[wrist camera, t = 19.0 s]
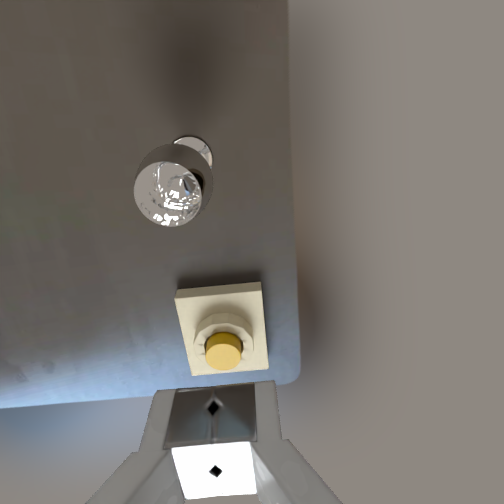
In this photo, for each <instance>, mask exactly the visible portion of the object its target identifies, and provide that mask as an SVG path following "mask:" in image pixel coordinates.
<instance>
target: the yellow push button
mask: <svg viewBox="0 0 504 504" xmlns="http://www.w3.org/2000/svg"><path fill="white" fill-rule="evenodd" d="M205 358H206V361H207V363H208V364H209V365H210V366H211V367H212V368H214V369H217V370H230V369H233V368H234V367H236V366H237V365H238V364H239V362H240V360H241V342H240V340H239V338H238V337H237V336H236V335H234V334H232V333H229V332H218V333H215V334H213V335H212V336H211V337H210V338H209V339H208V341H207V347H206V354H205Z"/></svg>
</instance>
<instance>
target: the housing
mask: <svg viewBox="0 0 504 504" xmlns="http://www.w3.org/2000/svg"><path fill="white" fill-rule="evenodd" d="M175 303H176V308H177V312H178V316H179V321H180V325H181V330H182V334H183V339H184V343H185V347H186V352H187V356H188V361H189V365H190V369H191V374H192V376H195V375H206V374H217V373H228V372H239V371H250V370H261V369H269V364H268V353H267V343H266V332H265V321H264V310H263V299H262V289H261V282H252V283H241V284H230V285H220V286H209V287H199V288H188V289H178V290H177V292H176V295H175ZM218 332H229V333H232V334H234V335H236V336H237V337H238V338H239V340H240V342H241V360H240V362H239V364H238V365H237V366H236V367H234V368H233V369H230V370H217V369H214V368H212V367H211V366H210V365H209V364H208V363H207V361H206V358H205V354H206V347H207V341H208V339H209V338H210V337H211V336H212V335H213V334H215V333H218Z"/></svg>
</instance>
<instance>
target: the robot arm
mask: <svg viewBox="0 0 504 504" xmlns="http://www.w3.org/2000/svg"><path fill="white" fill-rule="evenodd" d="M240 494H257V496H258V498H259V500H260V501H261V503H262V504H343V503H342V502H341V501H340V500H339V499H338V497H337V496H336V495H335V494H334V493H333V491H332V490H331V489H330V488H329V487H328V485H327V484H326V483H325V482H324V481H323V480H322V478H321V477H320V476H319V475H318V474H317V472H316V471H315V470H314V469H313V468H312V467H311V466H310V464H309V463H308V462H307V461H306V460H305V459H304V457H303V456H302V455H301V454H300V452H299V451H298V450H297V449H296V448H295V446H294V445H293V444H292V443H291V442H290V441H289V440H288V439H286V440H282V434H281V427H280V418H279V410H278V401H277V392H276V384H275V381H274V380H272V381H261V382H255V383H254V382H249V383H239V384H229V385H218V386H211V387H195V388H178V389H167V390H157V392H156V393H155V395H154V397H153V400H152V404H151V408H150V411H149V415H148V419H147V423H146V426H145V429H144V433H143V437H142V440H141V444H140V448H139V451H138V452H133V453H131V454H130V455H129V456H128V457H127V459H126V460H125V461H124V462H123V463H122V464H121V465H120V466H119V467H118V468H117V470H116V471H115V472H114V473H113V474H112V475H111V476H110V477H109V478H108V479H107V480H106V481H105V483H104V484H103V485H102V486H101V487H100V488H99V489H98V490H97V491H96V492H95V494H94V495H93V496H92V497H91V498H90V499H89V500H88V501H87V502H86V503H85V504H184V503H185V501H184V500H186V499H195V498H203V497H212V496H221V495H240Z"/></svg>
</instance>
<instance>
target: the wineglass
mask: <svg viewBox="0 0 504 504" xmlns="http://www.w3.org/2000/svg"><path fill="white" fill-rule="evenodd" d="M212 164H213V157H212V153H211V151H210V149H209V147H208V146H207V145H206V144H205V143H204V142H203V141H202V140H200V139H198V138H195V137H183V138H180V139H178V140H176V141H175V142H174V143H172V144H165V145H162V146H159V147H157V148H155V149H154V150H152V151H151V152H150V153H149V154H147V155H146V157H145V158H144V159H143V161H142V162H141V164H140V165H139V168H138V170H137V173H136V177H135V182H134V196H135V200H136V203H137V205H138V207H139V209H140V210H141V212H142V213H143V214H144V215H145V216H146V217H147V218H148V219H150V220H151V221H153V222H155V223H157V224H160V225H163V226H179V225H182V224H185V223H187V222H189V221H190V220H192V219H194V218H195V217H196V216H198V215H199V214H200V213H201V212H202V210H203V209H204V208H205V207H206V205H207V204H208V202H209V200H210V198H211V195H212V192H213V175H212V171H211V168H212Z"/></svg>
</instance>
